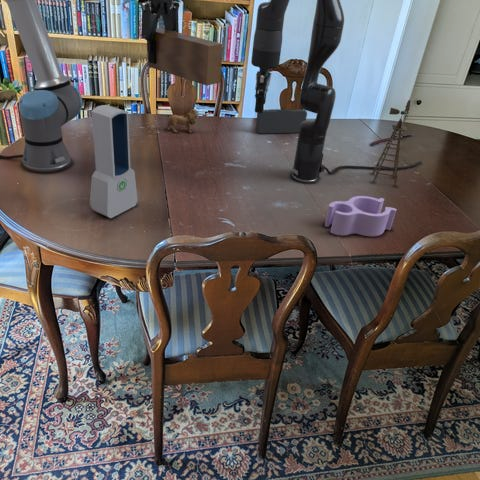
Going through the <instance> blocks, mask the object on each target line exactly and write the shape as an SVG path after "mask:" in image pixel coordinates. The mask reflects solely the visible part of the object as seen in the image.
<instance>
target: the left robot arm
mask: <svg viewBox="0 0 480 480" xmlns="http://www.w3.org/2000/svg"><path fill="white" fill-rule="evenodd" d="M2 1H3V2H5V3H6V5H7V7H8V10H9V12H10V15H11V18H12V20H13V23H14V25H15V28H16V30H17V33H18V36H19V38H20V40H21V43H22V46H23V48H24V51H25V54H26V56H27V58H28V61H29V63H30V67H31V69H32V72H33V74H34V76H35V79H36V83H35V86H34V89H35V90H33V91H28V92H25V93H24V94H22V95H21V96H20V98H19V100H18V105H19V106H18V111H19V114H20V119H21V125H22V132H23V136H24V148H23V153H22V154H15V155H14V154H13V155H2V154H0V159H4V160H12V159H22V160H21V161H22V166H23V168H24V169H25V170H27V171H29V172H33V173H39V174H46V173H56V172H61V171H63V170H66V169H67V168H69V167H70V166H71V163H72V159H71V155H70V153H69V151H68V150H67V149H68V148H67V147H66V145H65V143H64V140H63V132H62V126H64V125H65V124H67V123H68V122H70V121H72V120H73V119H75V118H76V117H77V116H78V115H79V114H80V112H81V110H82V109H83V97H82V93H81V92H80V91H79V89H78V88H77V87H75V86H74V85H73V84H72V83H71V80H70V78H69V77H68V76H66V75H64V73H63V71H62V69H61V66H60V63H59V60H58V57H57V54H56V52H55V50H54V46H53V44H52V41H51V39H50V36H49V32H48V30H47V27H46V23H45V22H44V19H43V16H42V14H41V11H40V8H39V5H38V3H37V0H2ZM140 9H141V28H140V29H141V30H140V37H141V38H142V39H144V40H146V52H147V51H148V56H149V62H150V63H153V64H156V41H154V37H155V33H156V29H157V28H158V23H159V19H160V18H161V17H162V21H163V27H164V29H167V30H171V31H175V32H179V33H180V30H179V27H180V26H179V24H180V23H179V9H180V2H177V1H173V0H147V1H146V2H143V1H142V2H141V3H140Z"/></svg>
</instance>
